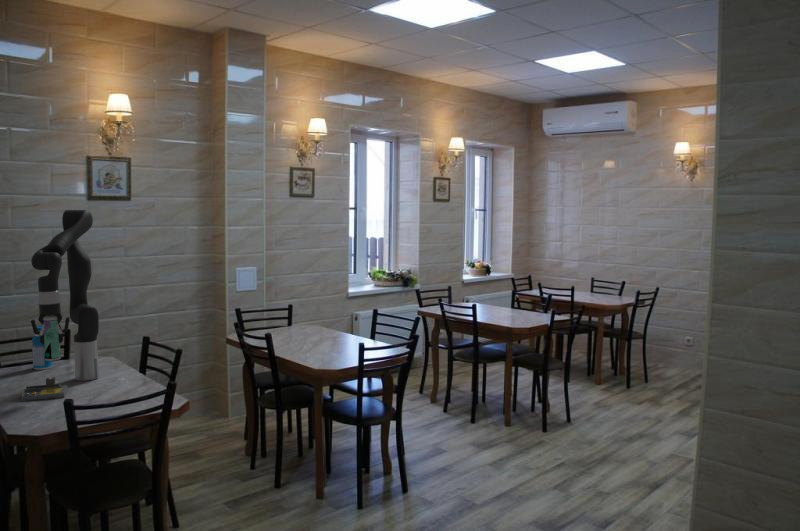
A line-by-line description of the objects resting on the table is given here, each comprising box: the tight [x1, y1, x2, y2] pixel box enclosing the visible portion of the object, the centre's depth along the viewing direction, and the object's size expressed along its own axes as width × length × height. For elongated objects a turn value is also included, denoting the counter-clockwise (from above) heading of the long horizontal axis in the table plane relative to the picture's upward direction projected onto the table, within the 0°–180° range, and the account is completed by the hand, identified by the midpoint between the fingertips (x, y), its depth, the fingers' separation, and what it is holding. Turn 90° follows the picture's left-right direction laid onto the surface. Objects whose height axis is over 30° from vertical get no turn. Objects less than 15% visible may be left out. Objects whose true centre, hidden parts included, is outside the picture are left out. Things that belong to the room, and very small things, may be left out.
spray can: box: [43, 315, 61, 362], centre depth 256 cm, size 6×6×20 cm
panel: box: [21, 383, 68, 402], centre depth 259 cm, size 15×12×3 cm
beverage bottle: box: [31, 324, 54, 371], centre depth 302 cm, size 8×8×20 cm
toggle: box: [45, 376, 56, 387], centre depth 263 cm, size 3×3×4 cm
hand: (51, 343), depth 256 cm, fingers closed on spray can, 5 cm apart
